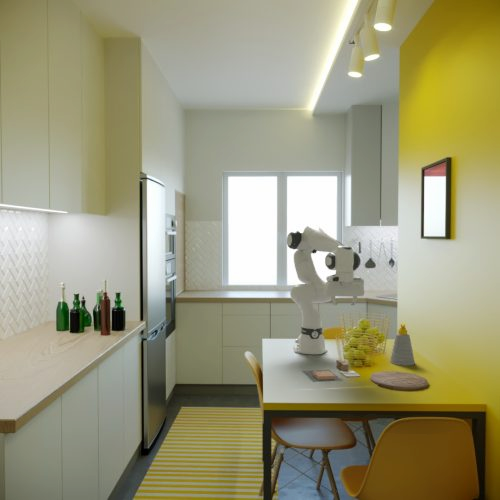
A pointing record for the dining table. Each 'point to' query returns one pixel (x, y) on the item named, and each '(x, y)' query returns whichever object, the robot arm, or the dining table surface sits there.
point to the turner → (346, 369)
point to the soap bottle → (402, 349)
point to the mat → (314, 379)
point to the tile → (323, 375)
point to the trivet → (399, 380)
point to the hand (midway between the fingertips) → (344, 305)
